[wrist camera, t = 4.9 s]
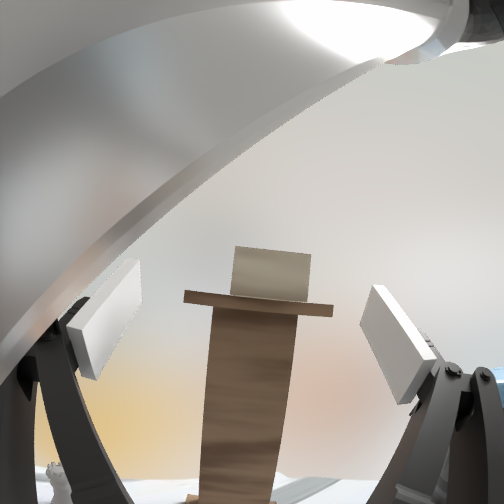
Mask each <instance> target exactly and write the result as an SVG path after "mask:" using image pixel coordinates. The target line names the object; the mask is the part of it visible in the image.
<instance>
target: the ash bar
mask: <svg viewBox="0 0 504 504" xmlns="http://www.w3.org/2000/svg"><path fill="white" fill-rule="evenodd" d="M310 262H311V254H303V253H294V252H285V251H275V250H267V249H257V248H248V247H239V246H235V255H234V263H233V272H232V281H231V290H230V294H231V295H233V296H240V297H249V298H259V299H269V300H279V301H299V302H307V297H308V286H309V274H310Z"/></svg>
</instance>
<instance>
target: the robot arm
mask: <svg viewBox="0 0 504 504" xmlns="http://www.w3.org/2000/svg"><path fill="white" fill-rule="evenodd" d="M502 40H504V0H0V504H38V501H37V492H36V481H35V464H34V424H35V406H36V393H37V384H38V382H40V386H41V391H42V396H43V401H44V405H45V410H46V414H47V418H48V422H49V425H50V429H51V432H52V436H53V439H54V443H55V446H56V449H57V452H58V455H59V458H60V461H61V464H62V467H63V469H64V472H65V475H66V477H67V480H68V482H69V485H70V487H71V491H72V492H71V494H70V496H71V500H72V503H73V504H134V502H133V501H132V499H131V497H130V496H129V494H128V492H127V491H126V489H125V487H124V485H123V484H122V482H121V480H120V478H119V477H118V475H117V473H116V471H115V469H114V467H113V466H112V463H111V461H110V459H109V457H108V455H107V453H106V451H105V449H104V447H103V445H102V443H101V440H100V438H99V436H98V434H97V432H96V430H95V427H94V424H93V422H92V420H91V417H90V415H89V412H88V410H87V407H86V404H85V402H84V399H83V396H82V393H81V391H80V387H79V385H78V382H77V379H76V376H75V371H76V370H77V368H78V367H79V370H80V373H81V376H82V377H86V378H89V379H93V380H97V379H98V377H99V375H100V373H101V371H102V370H103V368H104V366H105V364H106V363H107V361H108V359H109V357H110V356H111V354H112V352H113V350H114V348H115V347H116V345H117V344H118V342H119V340H120V338H121V336H122V335H123V333H124V332H125V330H126V328H127V327H128V325H129V323H130V322H131V320H132V318H133V317H134V315H135V313H136V312H137V310H138V309H139V307H140V305H141V304H142V293H141V276H140V260H137V259H129V258H127V259H126V260H125V261H124V262H123V263H122V264H121V265H120V267H118V269H117V270H116V271H115V272H114V273H113V274H112V275H111V276H110V277H109V278H108V279H107V280H106V281H105V282H104V283H103V285H102V286H101V287H100V288H99V289H98V290H97V291H96V292H95V293H94V294H93V295H92V297H91V298H90V297H83V298H81V299H80V300H78V301H77V302H76V303H75V304H74V305H73V306H72V308H70V309H69V310H68V311H67V313H66V314H65V315H64V316H63V317H62V318H61V319H60V320H59V321H58V319H57V318H58V316H59V315H60V314H61V313H62V312H63V311H64V310H65V309H66V308H67V307H68V306H69V305H70V304H71V303H72V301H74V299H75V298H76V297H77V296H78V295H79V294H80V293H81V292H82V291H83V290H84V289H85V288H86V287H87V286H88V285H89V284H90V283H91V282H92V281H93V280H94V279H95V278H96V277H97V276H98V275H99V274H100V273H101V272H102V271H103V270H104V269H106V268H107V267H108V266H109V265H110V264H111V263H112V262H113V261H114V260H115V259H116V258H117V257H118V256H119V255H120V254H121V253H122V252H124V251H125V250H126V249H127V248H128V247H129V246H130V245H131V244H132V243H133V242H134V241H136V240H137V239H138V238H139V237H140V236H141V235H142V234H143V233H145V232H146V231H147V230H148V229H149V228H150V227H151V226H152V225H154V224H155V223H156V222H157V221H158V220H159V219H160V218H162V217H163V216H164V215H165V214H166V213H167V212H169V211H170V210H171V209H172V208H173V207H175V206H176V205H177V204H178V203H179V202H180V201H182V200H183V199H184V198H185V197H187V196H188V195H189V194H190V193H192V192H193V191H194V190H195V189H197V188H198V187H199V186H200V185H201V184H203V183H204V182H205V181H207V180H208V179H209V178H210V177H212V176H213V175H214V174H215V173H217V172H218V171H219V170H221V169H222V168H223V167H224V166H226V165H227V164H229V163H230V162H231V161H233V160H234V159H235V158H237V157H238V156H239V155H241V154H242V153H243V152H245V151H246V150H247V149H249V148H250V147H252V146H253V145H254V144H256V143H257V142H259V141H260V140H261V139H263V138H264V137H266V136H267V135H268V134H270V133H271V132H273V131H274V130H276V129H277V128H279V127H280V126H281V125H283V124H284V123H286V122H287V121H289V120H290V119H292V118H293V117H295V116H296V115H298V114H299V113H301V112H302V111H304V110H305V109H307V108H308V107H310V106H311V105H313V104H315V103H316V102H318V101H320V100H321V99H323V98H324V97H326V96H328V95H329V94H331V93H332V92H334V91H336V90H337V89H339V88H341V87H342V86H344V85H345V84H347V83H349V82H351V81H352V80H354V79H356V78H357V77H359V76H361V75H363V74H365V73H366V72H368V71H370V70H372V69H373V68H375V67H377V66H379V65H381V64H383V63H388V64H395V65H408V64H417V63H421V62H425V61H429V60H432V59H434V58H436V57H438V56H440V55H442V54H444V53H449V52H453V51H458V50H463V49H469V48H475V47H479V46H484V45H488V44H493V43H496V42H499V41H502ZM360 326H361V328H362V330H363V332H364V334H365V336H366V338H367V340H368V342H369V344H370V346H371V348H372V351H373V353H374V355H375V357H376V359H377V361H378V363H379V365H380V367H381V369H382V372H383V374H384V375H385V378H386V380H387V383H388V385H389V387H390V389H391V391H392V394H393V396H394V398H395V400H396V402H397V405H399V404H407V403H411V402H412V400H413V399H414V397H415V396H416V394H417V396H418V398H419V401H418V403H417V404H416V406H415V407H414V409H413V410H412V411H411V413H410V414H409V415H410V416H411V415H412V416H411V419H410V421H409V423H408V425H407V428H406V430H405V432H404V434H403V437H402V439H401V441H400V443H399V445H398V447H397V449H396V451H395V454H394V455H393V457H392V459H391V461H390V463H389V465H388V467H387V469H386V471H385V472H384V474H383V476H382V478H381V480H380V481H379V483H378V485H377V486H376V488H375V490H374V491H373V493H372V495H371V496H370V498H369V500H368V501H367V503H366V504H504V367H499V368H493V369H487V368H484V367H478V368H477V369H476V370H475V371H474V373H473V375H470V374H464V373H463V372H462V370H461V368H460V367H459V366H458V365H456V364H454V363H451V362H445V360H444V359H443V358H442V356H441V355H440V353H439V352H438V350H437V349H436V348H435V347H434V345H433V343H432V342H430V339H429V338H428V336H427V335H426V334H425V333H424V332H422V331H421V330H420V329H416V328H415V326H414V325H413V324H412V322H411V321H410V319H409V318H408V317H407V315H406V314H405V313H404V311H403V310H402V309H401V308H400V306H399V305H398V303H397V302H396V301H395V300H394V298H393V297H392V296H391V294H390V293H389V292H388V290H387V289H386V288H385V287H384V286H382V285H372V288H371V292H370V294H369V298H368V301H367V304H366V307H365V310H364V313H363V316H362V319H361V322H360Z"/></svg>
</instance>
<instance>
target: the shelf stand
mask: <svg viewBox="0 0 504 504" xmlns="http://www.w3.org/2000/svg"><path fill="white" fill-rule="evenodd" d="M184 303H192V304H200V305H208V306H213V314H212V325H211V334H210V344H209V354H208V355H209V356H208V365H207V377H206V388H205V401H204V414H203V428H202V429H203V430H202V443H201V444H202V445H201V459H200V478H199V496H196V495H190V494H188V495H187V498H186V502H185V504H277V503H276V502H270V497H271V492H272V487H273V482H274V477H275V472H276V466H277V460H278V455H279V449H280V444H281V438H282V432H283V425H284V419H285V412H286V406H287V399H288V392H289V385H290V377H291V370H292V362H293V353H294V345H295V337H296V327H297V318H298V315H308V316H324V317H332V316H333V305H326V304H313V303H301V302H290V301H279V300H269V299H259V298H249V297H240V296H230V295H221V294H213V293H205V292H197V291H189V290H185V294H184Z"/></svg>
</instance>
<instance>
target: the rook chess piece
mask: <svg viewBox="0 0 504 504" xmlns="http://www.w3.org/2000/svg"><path fill="white" fill-rule="evenodd" d="M51 464H52V466H51V465H50V464H48V466H47V467H48V469H47V470H46V475H47V476H48V478H49V479H51V480H50V484H51V485H52V486H53V490H54V496H53V499H52V501H51V504H73V503H72V500H71V496H70V494H71V492H72V491H71V487H70V485H69V482H68V480H67V477H66V475H65V472H64V469H63V467H62V464H61V463H60V462H59V463H58V464H59V465H56V464H55V462H51Z"/></svg>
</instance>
